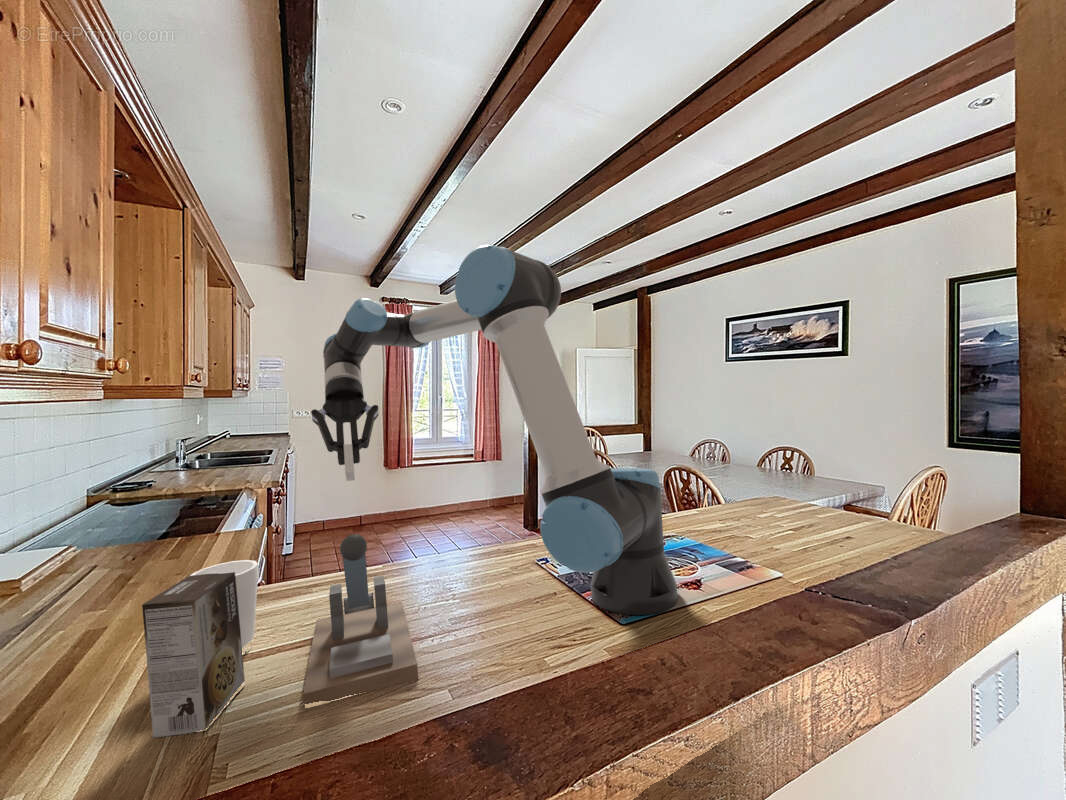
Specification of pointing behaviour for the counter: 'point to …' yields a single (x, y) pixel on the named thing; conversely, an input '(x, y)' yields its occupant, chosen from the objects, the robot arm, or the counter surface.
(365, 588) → the lever
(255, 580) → the foam cup
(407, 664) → the press base
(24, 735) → the counter surface
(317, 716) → the counter surface
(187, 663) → the coffee box
